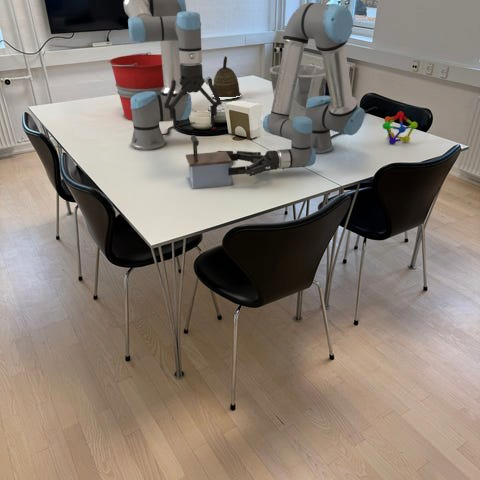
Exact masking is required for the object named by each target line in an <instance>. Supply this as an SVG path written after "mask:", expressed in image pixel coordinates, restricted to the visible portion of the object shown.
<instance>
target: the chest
mask: <svg viewBox="0 0 480 480" xmlns="http://www.w3.org/2000/svg"><path fill="white" fill-rule="evenodd" d="M232 167H233V162H232V163H225V164H214V165H203V166H193V167H190V166H189V165H188V176H189V177H188V178H189V181H190V183H191V187H192V189H194V190H195V189H204V188H214V187H225V186H232V185H233V175H228V168H232Z"/></svg>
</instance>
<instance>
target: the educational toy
mask: <svg viewBox="0 0 480 480" xmlns="http://www.w3.org/2000/svg"><path fill="white" fill-rule="evenodd" d="M397 119H399V124H400V125H399V127H398V126H393V125H391V124H392V123H394V122H395V121H396V120H397ZM403 120H404V121H405V122H407V123H408V124H409V125H407V126H404V123H403ZM417 127H418V122H417V121H411V120H410V119H409V118H408V117H406V116H405V113H404V112H403V111H401V110H400V111H398V112H397V114H396V115H394V116H391V117H390V116H386V117H385V118H384V122H383V123H382V129H383V130H386V132H387V138H388V142H389V145H395V144H396V143H397V142H402V141H403V142H404V143H409V142H410V140H411V138H410V136H411V134H412V132H413V131H414V130H415V129H417ZM392 129H393V130H397V131H398V132H396V134H395V133H394V132H392ZM408 129H409V131H408V133H407V134H406V135H404V136H401V134H403V133H405V132H406V130H408ZM399 135H400V136H399Z"/></svg>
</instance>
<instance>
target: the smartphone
mask: <svg viewBox="0 0 480 480" xmlns="http://www.w3.org/2000/svg"><path fill="white" fill-rule="evenodd" d="M222 151H223V150H217V151H216V152H222ZM225 151H226V152H227V154H234V151H233V150H225ZM233 162H234V161H232V163H233Z"/></svg>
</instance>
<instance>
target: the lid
mask: <svg viewBox="0 0 480 480" xmlns="http://www.w3.org/2000/svg"><path fill="white" fill-rule="evenodd" d="M190 140H191V143H192V151H193V152H192V153H189V154H185V158H186V162H187V164H188V167H189V166H190V167H193V166H203V165H214V164H225V163H232V164H233V162H232V160H231V159H230V157H229V155H228V154H227V152H226V151H227V150H221V151H222V152H217V151H212V152H201V153H200V152H198V146H199V145H200V142H199V140H198V138H197V136H196V135H195V134H193V135H191V136H190Z"/></svg>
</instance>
